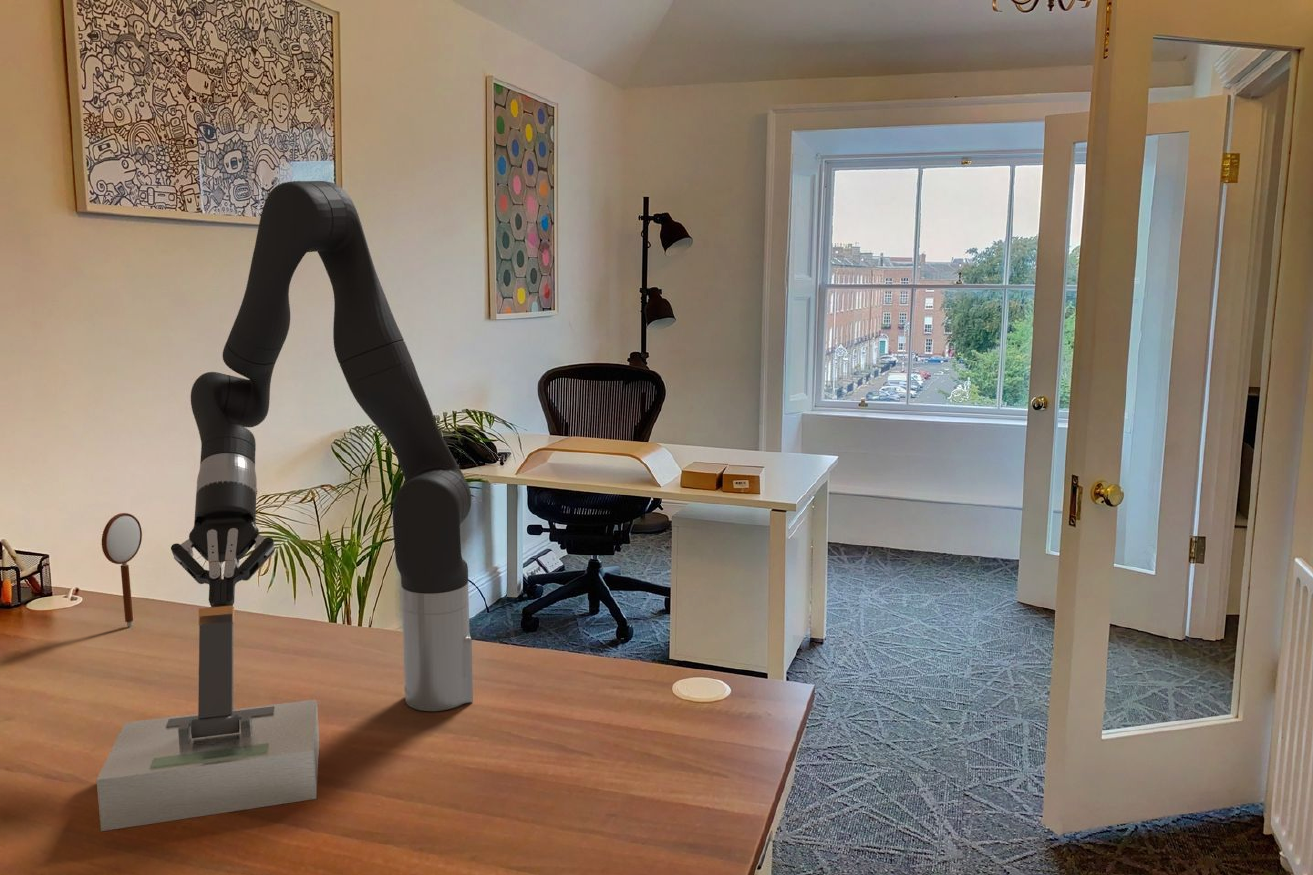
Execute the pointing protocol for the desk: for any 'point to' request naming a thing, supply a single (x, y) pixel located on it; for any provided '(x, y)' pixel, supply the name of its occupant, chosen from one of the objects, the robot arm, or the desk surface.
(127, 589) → the magnifying glass
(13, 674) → the desk surface
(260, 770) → the breaker box
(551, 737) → the desk surface
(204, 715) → the breaker lever
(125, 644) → the desk surface
